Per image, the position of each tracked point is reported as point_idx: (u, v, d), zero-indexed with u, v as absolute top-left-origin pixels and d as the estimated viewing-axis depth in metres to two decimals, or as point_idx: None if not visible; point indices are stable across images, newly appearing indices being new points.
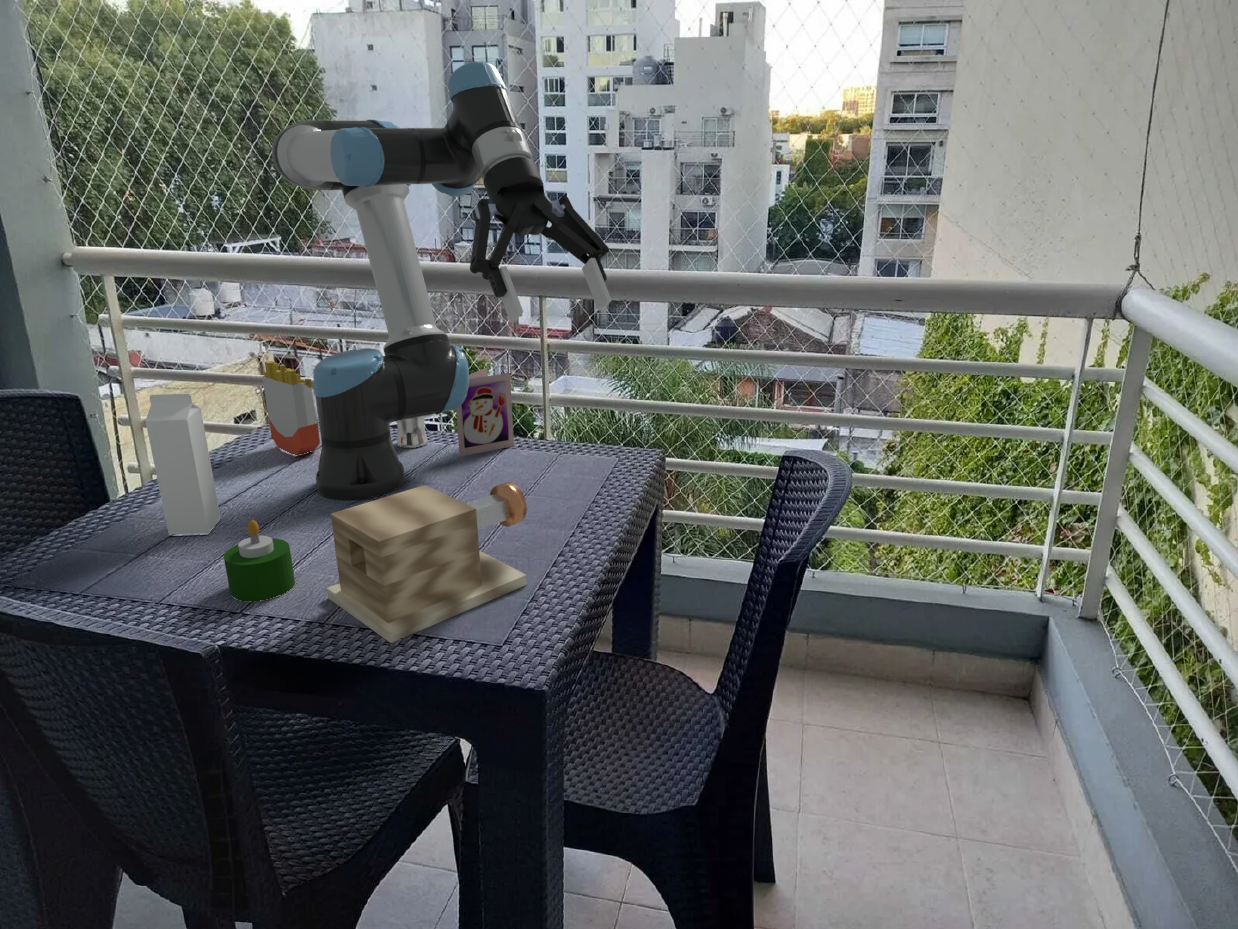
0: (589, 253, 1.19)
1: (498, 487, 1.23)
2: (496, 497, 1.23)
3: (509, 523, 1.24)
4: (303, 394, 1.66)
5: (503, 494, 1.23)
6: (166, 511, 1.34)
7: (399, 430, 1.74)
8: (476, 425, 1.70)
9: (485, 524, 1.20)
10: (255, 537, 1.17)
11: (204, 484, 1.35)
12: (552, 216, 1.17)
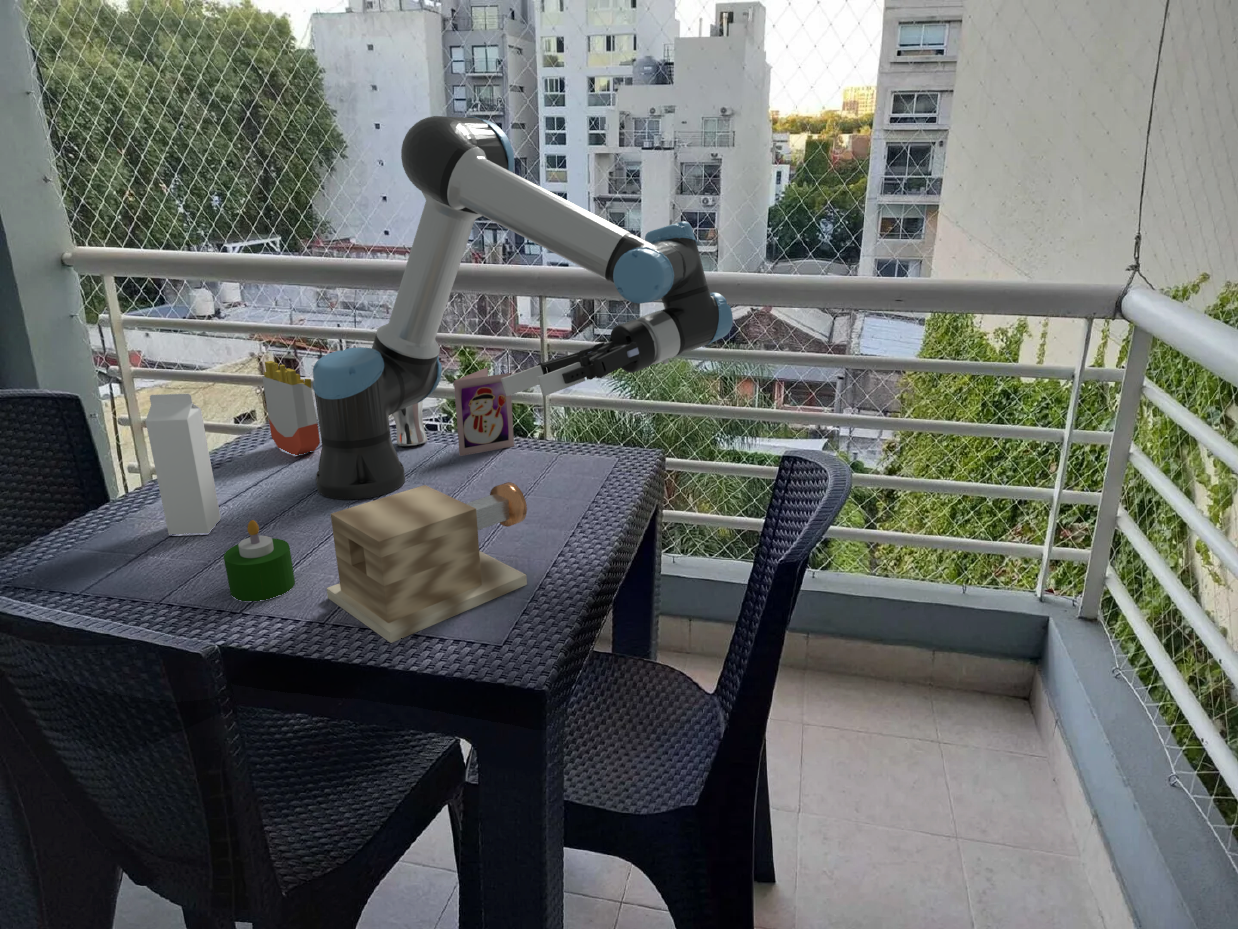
0: None
1: (498, 487, 1.23)
2: (496, 497, 1.23)
3: (509, 523, 1.24)
4: (303, 394, 1.66)
5: (503, 494, 1.23)
6: (166, 511, 1.34)
7: (398, 428, 1.74)
8: (476, 425, 1.70)
9: (485, 524, 1.20)
10: (255, 537, 1.17)
11: (204, 484, 1.35)
12: None
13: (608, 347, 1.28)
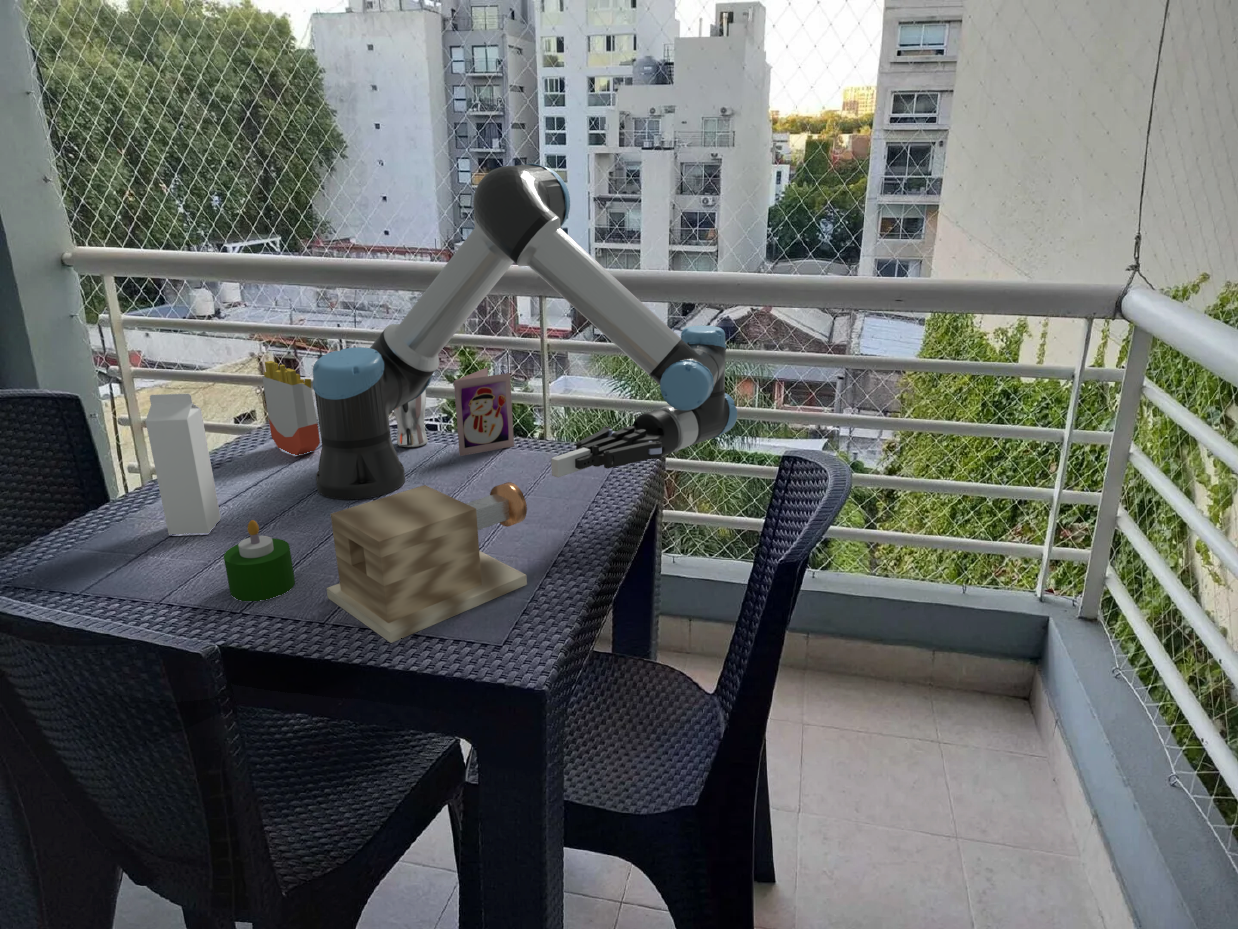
0: None
1: (498, 487, 1.23)
2: (496, 497, 1.23)
3: (509, 523, 1.24)
4: (303, 394, 1.66)
5: (503, 494, 1.23)
6: (166, 511, 1.34)
7: (399, 429, 1.74)
8: (475, 425, 1.70)
9: (485, 524, 1.20)
10: (255, 537, 1.17)
11: (204, 484, 1.35)
12: None
13: (635, 437, 1.37)
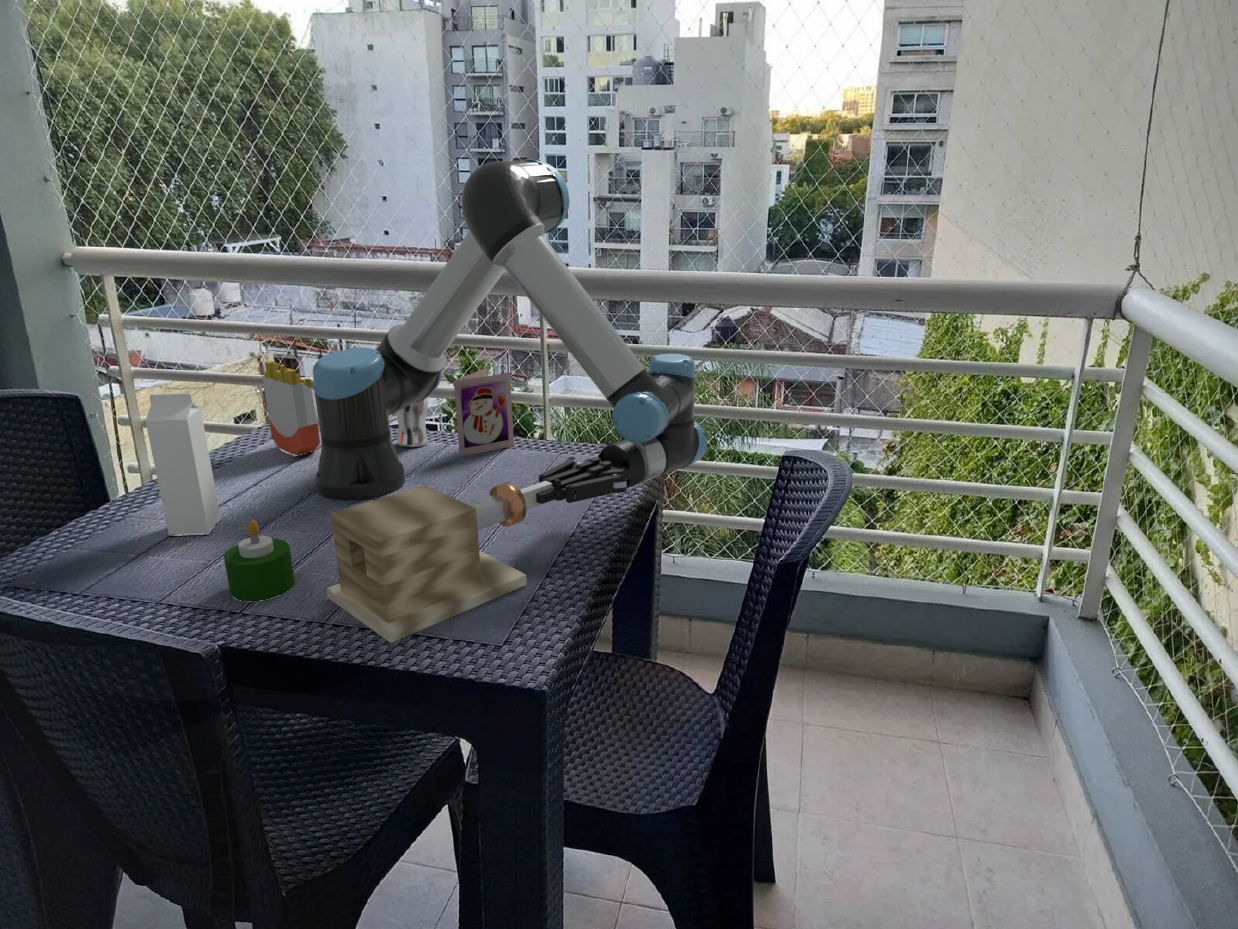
0: None
1: (498, 487, 1.23)
2: (496, 497, 1.23)
3: (509, 523, 1.23)
4: (303, 394, 1.66)
5: (503, 494, 1.23)
6: (166, 511, 1.34)
7: (400, 428, 1.74)
8: (476, 425, 1.70)
9: (485, 524, 1.20)
10: (255, 537, 1.17)
11: (204, 484, 1.35)
12: None
13: (600, 469, 1.33)
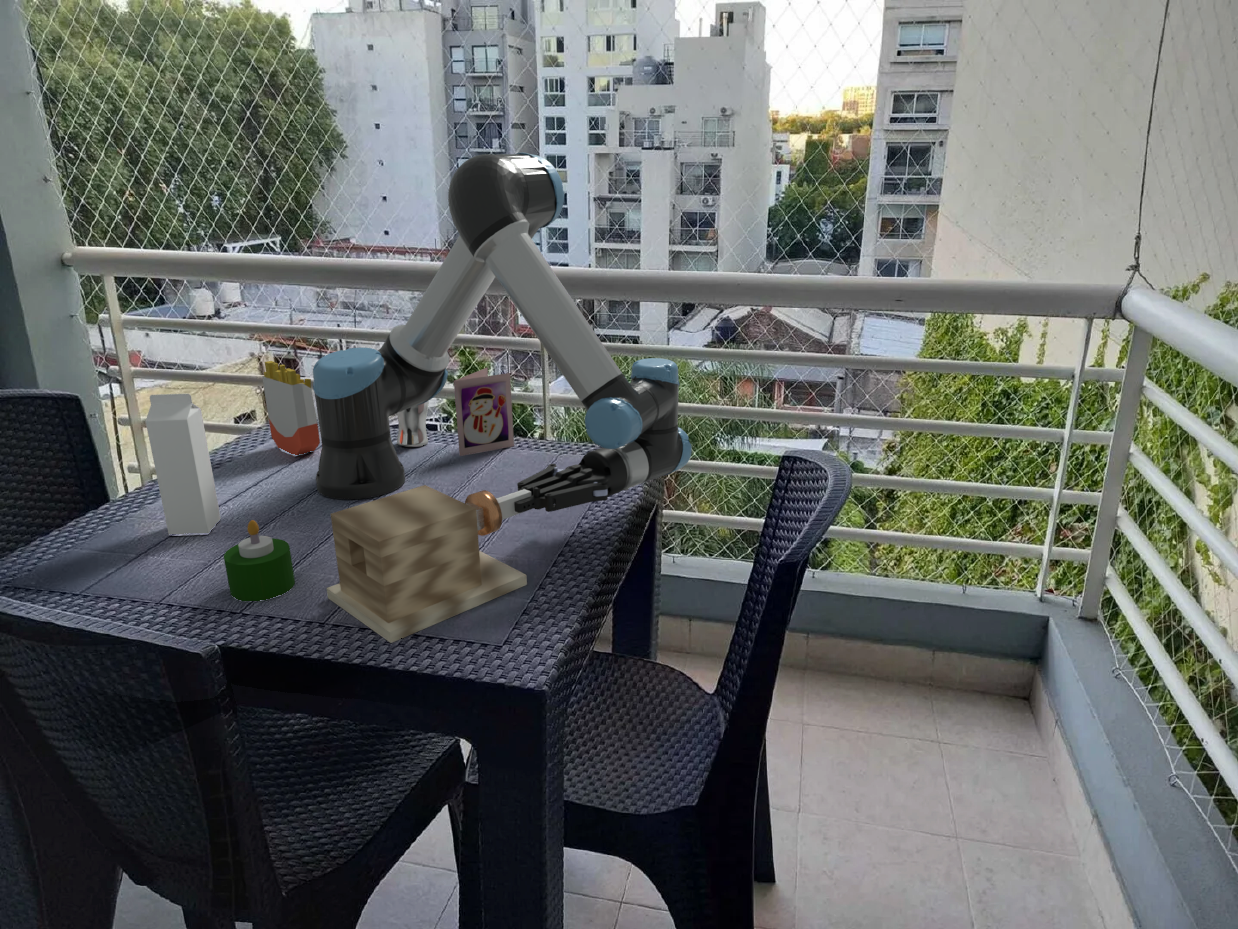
0: None
1: (473, 495, 1.20)
2: None
3: (484, 532, 1.21)
4: (303, 394, 1.66)
5: (478, 502, 1.20)
6: (166, 511, 1.34)
7: (400, 428, 1.74)
8: (475, 425, 1.70)
9: None
10: (255, 537, 1.17)
11: (204, 484, 1.35)
12: None
13: (580, 477, 1.30)
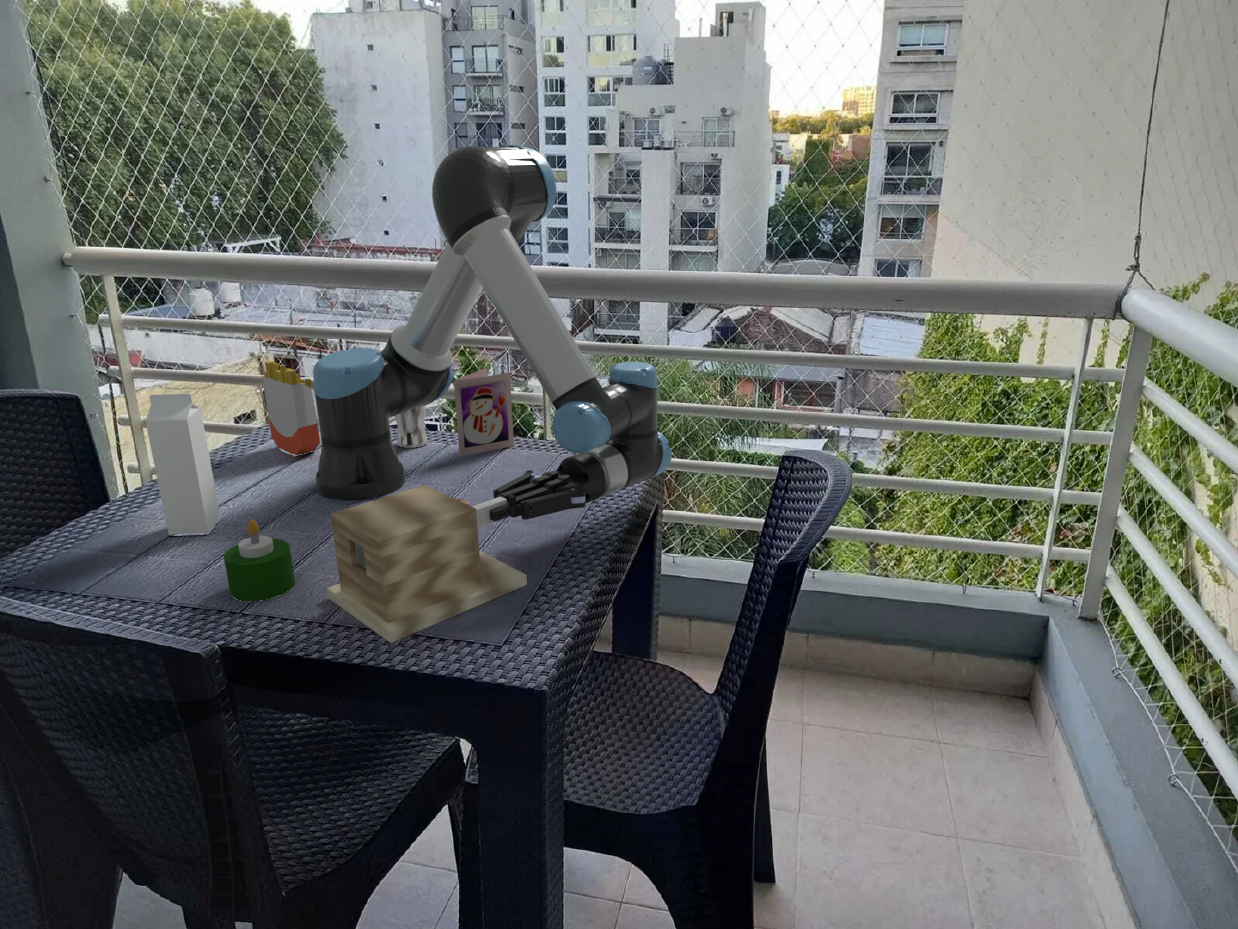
0: None
1: None
2: None
3: None
4: (303, 394, 1.66)
5: None
6: (166, 511, 1.34)
7: (399, 430, 1.74)
8: (476, 425, 1.70)
9: None
10: (255, 537, 1.17)
11: (204, 484, 1.35)
12: None
13: (557, 484, 1.28)
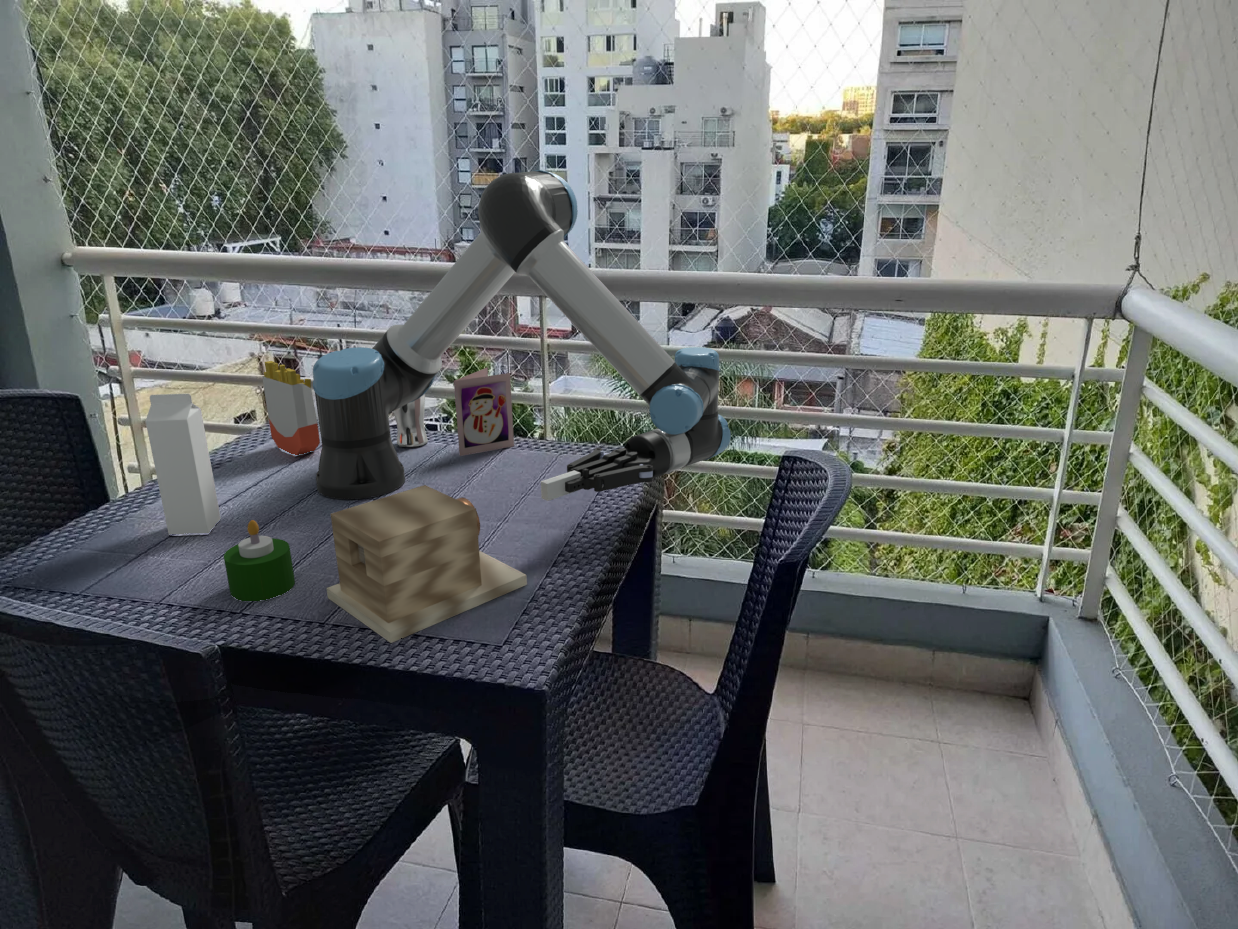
0: None
1: None
2: None
3: None
4: (303, 394, 1.66)
5: None
6: (166, 511, 1.34)
7: (399, 429, 1.74)
8: (475, 425, 1.70)
9: None
10: (255, 537, 1.17)
11: (204, 484, 1.35)
12: None
13: (626, 460, 1.36)
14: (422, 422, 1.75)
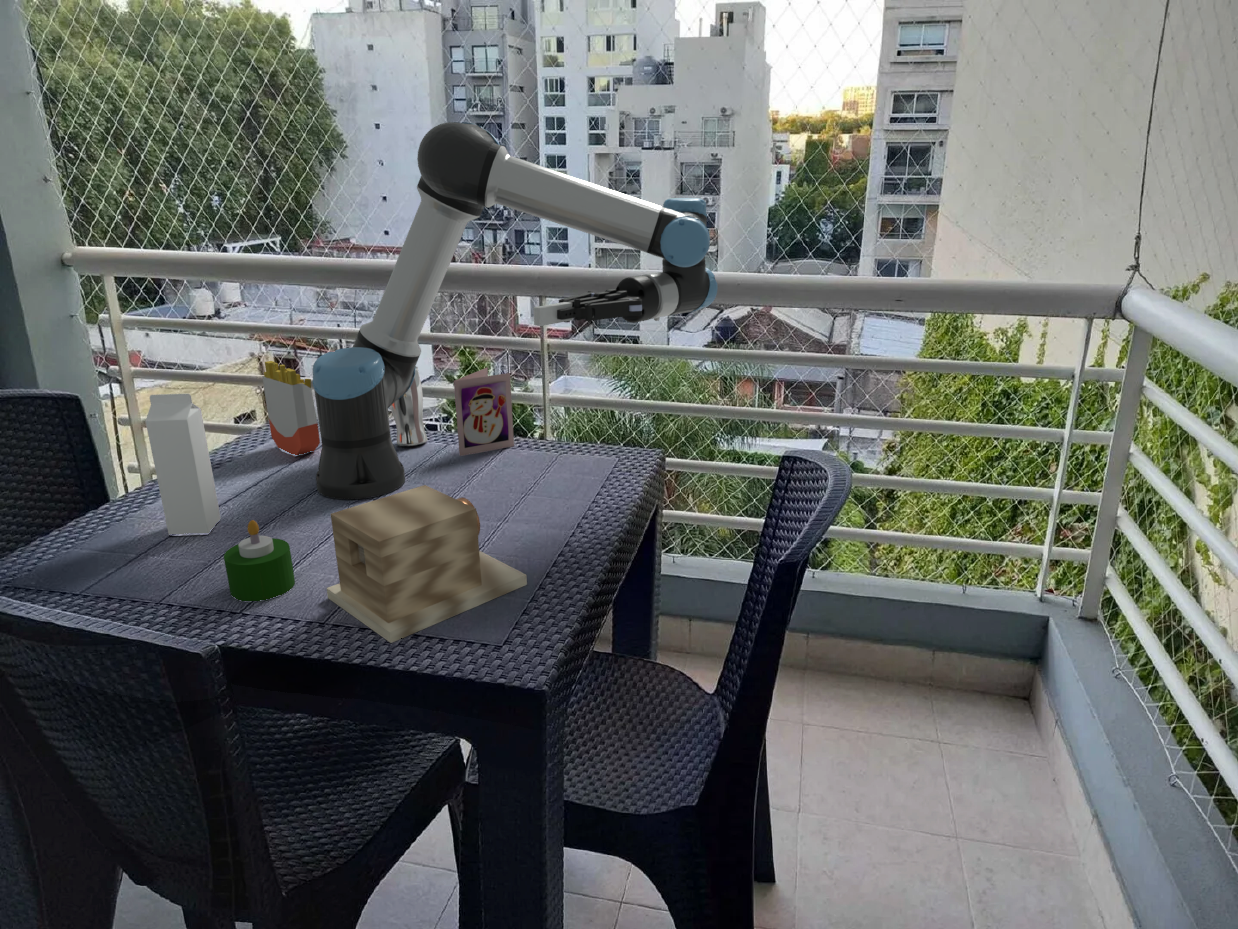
0: None
1: None
2: None
3: None
4: (303, 394, 1.66)
5: None
6: (166, 511, 1.34)
7: (398, 428, 1.74)
8: (475, 425, 1.70)
9: None
10: (255, 537, 1.17)
11: (204, 484, 1.35)
12: None
13: (616, 296, 1.41)
14: (421, 421, 1.75)
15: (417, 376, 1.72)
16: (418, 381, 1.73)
